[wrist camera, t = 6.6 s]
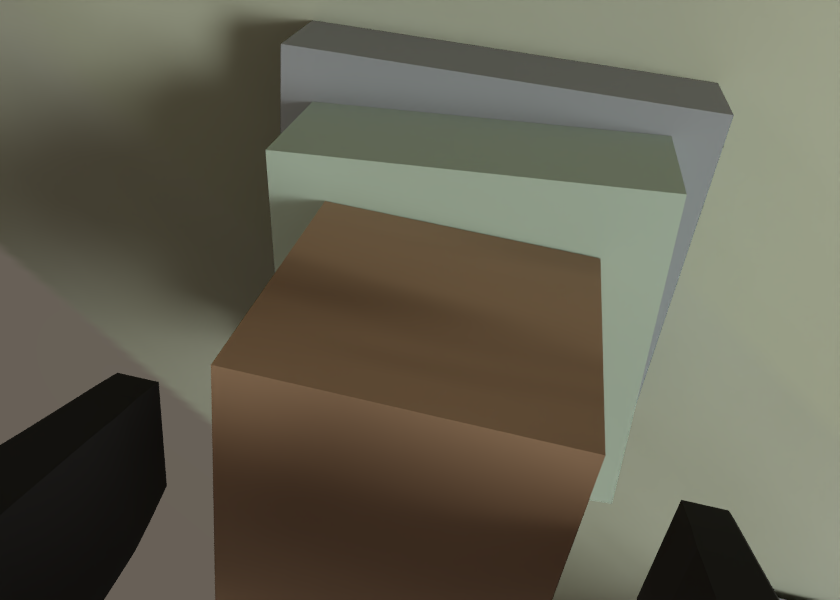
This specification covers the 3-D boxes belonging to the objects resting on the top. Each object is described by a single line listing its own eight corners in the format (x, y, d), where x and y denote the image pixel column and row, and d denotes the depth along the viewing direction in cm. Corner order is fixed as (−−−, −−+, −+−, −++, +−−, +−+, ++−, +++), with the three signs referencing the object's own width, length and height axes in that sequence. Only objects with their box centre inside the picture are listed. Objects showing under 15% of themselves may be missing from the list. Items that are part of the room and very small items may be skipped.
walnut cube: (537, 462, 15) (520, 684, 11) (309, 408, 15) (215, 606, 11) (600, 258, 12) (606, 455, 8) (324, 200, 12) (210, 365, 9)
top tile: (608, 419, 17) (611, 503, 15) (323, 377, 18) (288, 451, 16) (671, 136, 13) (687, 194, 11) (312, 101, 14) (265, 150, 12)
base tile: (615, 387, 19) (618, 455, 17) (311, 328, 20) (279, 386, 18) (713, 73, 15) (733, 115, 13) (320, 14, 16) (280, 43, 14)
